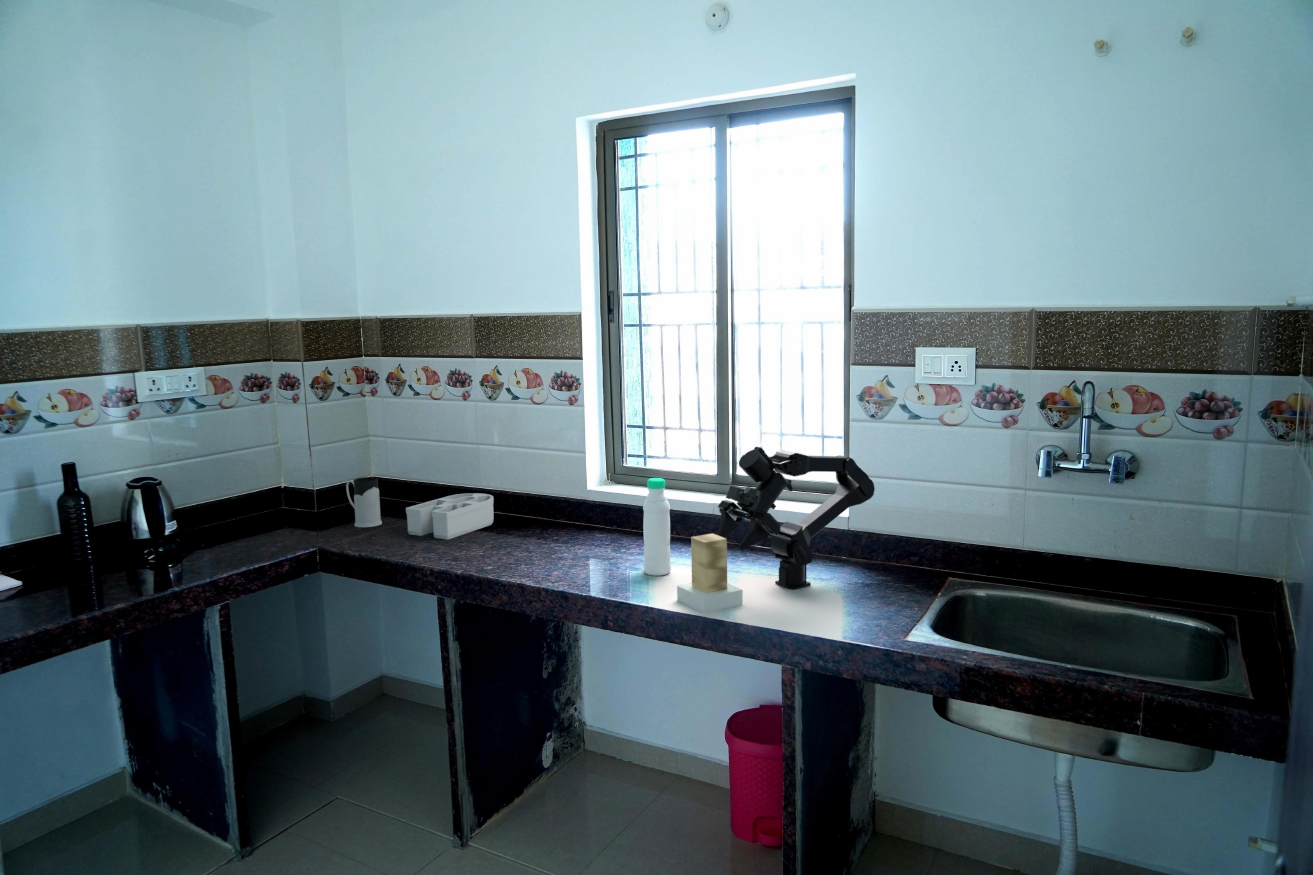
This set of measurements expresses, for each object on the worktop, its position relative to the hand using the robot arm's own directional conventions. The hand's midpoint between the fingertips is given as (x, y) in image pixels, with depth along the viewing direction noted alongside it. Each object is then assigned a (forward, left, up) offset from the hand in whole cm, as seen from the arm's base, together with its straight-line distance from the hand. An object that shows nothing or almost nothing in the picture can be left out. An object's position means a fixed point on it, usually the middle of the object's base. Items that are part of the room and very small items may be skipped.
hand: (728, 545), depth 208 cm
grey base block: (+5, 0, -13) cm, 14 cm away
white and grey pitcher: (+46, -132, -13) cm, 141 cm away
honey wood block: (+5, 0, -9) cm, 11 cm away
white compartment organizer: (+24, -108, -13) cm, 111 cm away
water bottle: (+1, -27, -13) cm, 31 cm away
